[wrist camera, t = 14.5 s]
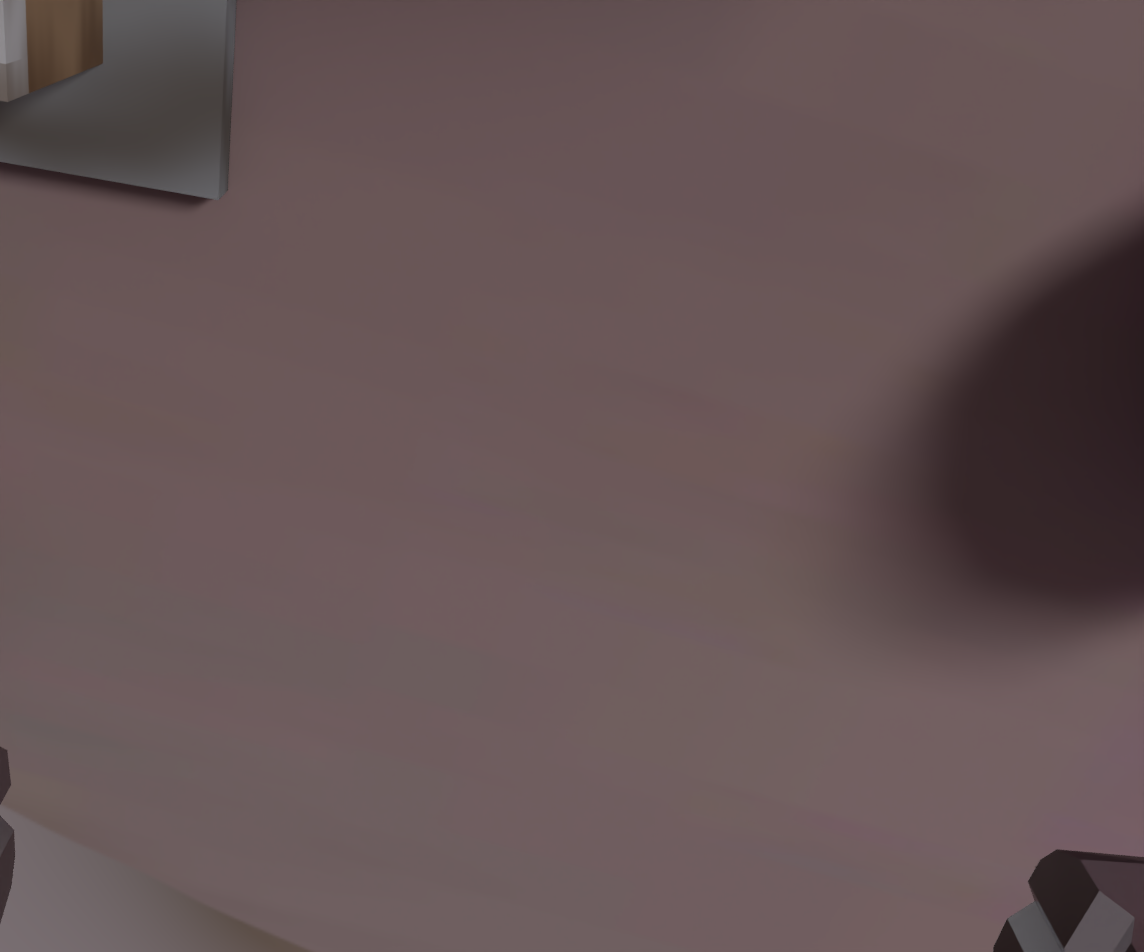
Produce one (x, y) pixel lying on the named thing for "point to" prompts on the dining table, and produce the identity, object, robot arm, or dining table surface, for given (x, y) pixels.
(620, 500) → the dining table surface
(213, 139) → the display riser
